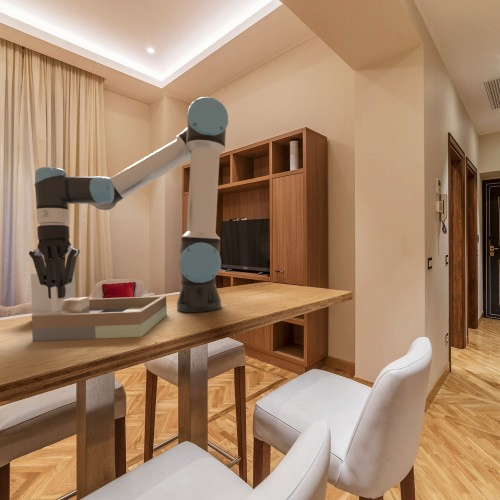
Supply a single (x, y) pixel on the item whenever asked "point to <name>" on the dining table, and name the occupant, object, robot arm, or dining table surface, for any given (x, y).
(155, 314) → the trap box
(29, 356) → the dining table surface
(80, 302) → the cream block
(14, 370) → the dining table surface
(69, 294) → the supplement box
